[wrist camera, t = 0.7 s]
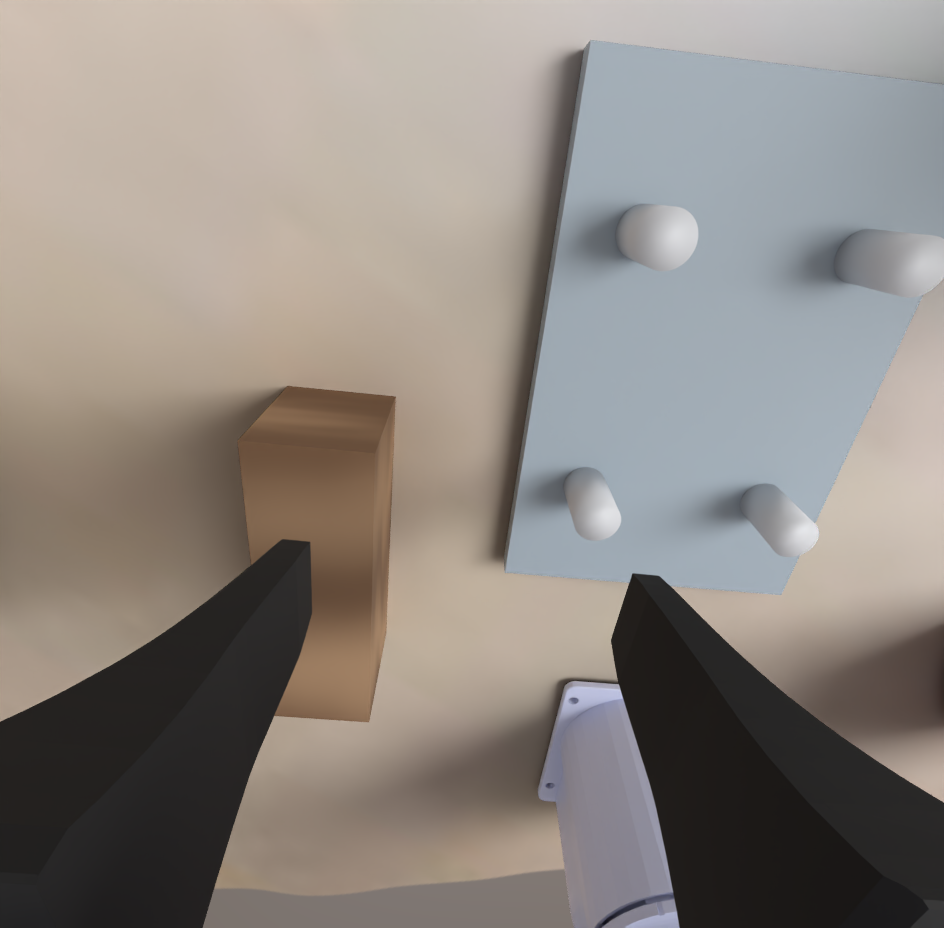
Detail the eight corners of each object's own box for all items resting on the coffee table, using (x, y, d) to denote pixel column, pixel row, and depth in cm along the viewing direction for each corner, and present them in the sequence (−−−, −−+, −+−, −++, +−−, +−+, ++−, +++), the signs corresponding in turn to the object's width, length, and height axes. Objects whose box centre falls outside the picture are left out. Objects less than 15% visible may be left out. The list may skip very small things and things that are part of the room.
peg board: (769, 579, 24) (813, 638, 21) (503, 558, 23) (508, 615, 20) (987, 99, 16) (1114, 77, 13) (584, 48, 15) (612, 12, 12)
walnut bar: (386, 629, 26) (369, 722, 21) (302, 623, 26) (267, 715, 21) (396, 394, 20) (375, 453, 16) (289, 384, 20) (237, 440, 16)
